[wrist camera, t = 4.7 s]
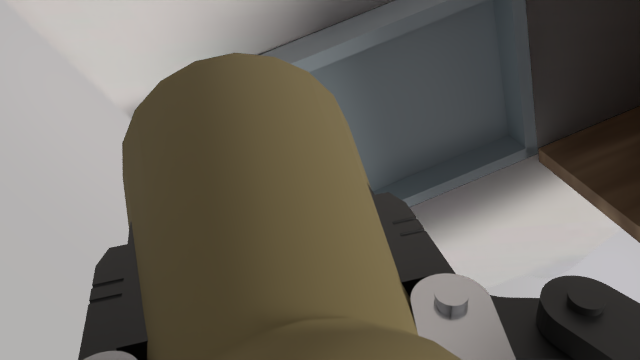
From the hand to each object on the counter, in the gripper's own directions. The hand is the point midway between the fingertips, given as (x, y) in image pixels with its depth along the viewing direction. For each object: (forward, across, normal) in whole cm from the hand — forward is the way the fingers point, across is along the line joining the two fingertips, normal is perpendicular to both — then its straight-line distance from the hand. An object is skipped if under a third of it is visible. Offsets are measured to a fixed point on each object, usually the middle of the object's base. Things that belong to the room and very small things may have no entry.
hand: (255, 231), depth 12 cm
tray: (+19, -10, +7) cm, 22 cm away
